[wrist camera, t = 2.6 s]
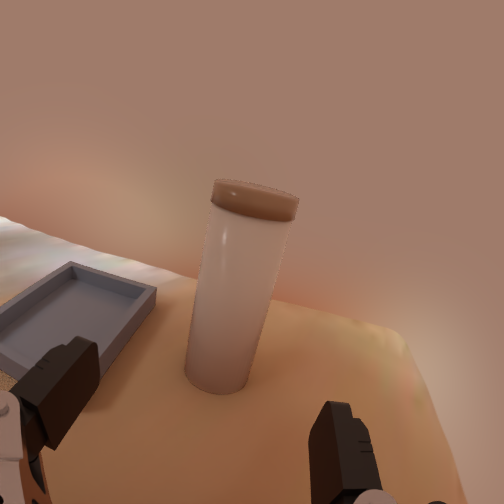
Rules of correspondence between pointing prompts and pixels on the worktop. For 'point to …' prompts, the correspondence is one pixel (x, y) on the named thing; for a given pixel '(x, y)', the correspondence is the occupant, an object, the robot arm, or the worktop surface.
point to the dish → (71, 316)
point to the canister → (236, 281)
